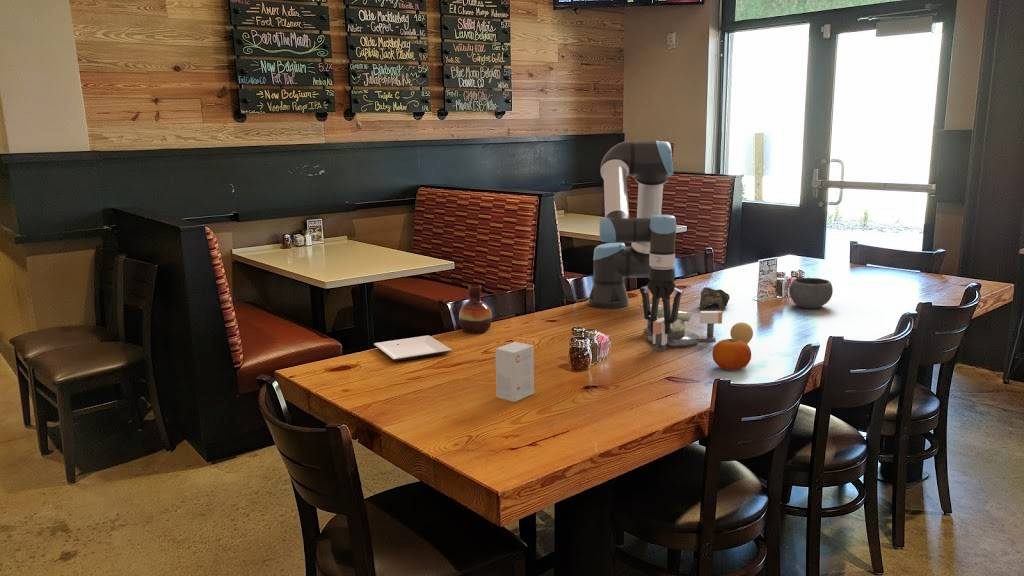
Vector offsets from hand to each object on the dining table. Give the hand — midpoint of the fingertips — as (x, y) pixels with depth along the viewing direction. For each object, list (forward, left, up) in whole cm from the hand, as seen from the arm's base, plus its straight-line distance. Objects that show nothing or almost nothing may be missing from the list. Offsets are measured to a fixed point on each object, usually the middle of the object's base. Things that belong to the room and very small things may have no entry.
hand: (659, 343), depth 236 cm
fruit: (+24, -8, -2) cm, 25 cm away
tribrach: (0, +9, -2) cm, 9 cm away
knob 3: (+10, +17, -1) cm, 20 cm away
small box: (-17, -57, -2) cm, 59 cm away
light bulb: (+23, +5, -2) cm, 24 cm away
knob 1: (-10, +17, -1) cm, 20 cm away
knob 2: (0, 0, -1) cm, 1 cm away
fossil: (-3, +62, -2) cm, 62 cm away
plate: (-65, -39, -2) cm, 76 cm away
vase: (-62, -9, -2) cm, 63 cm away
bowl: (+28, +78, -2) cm, 83 cm away
